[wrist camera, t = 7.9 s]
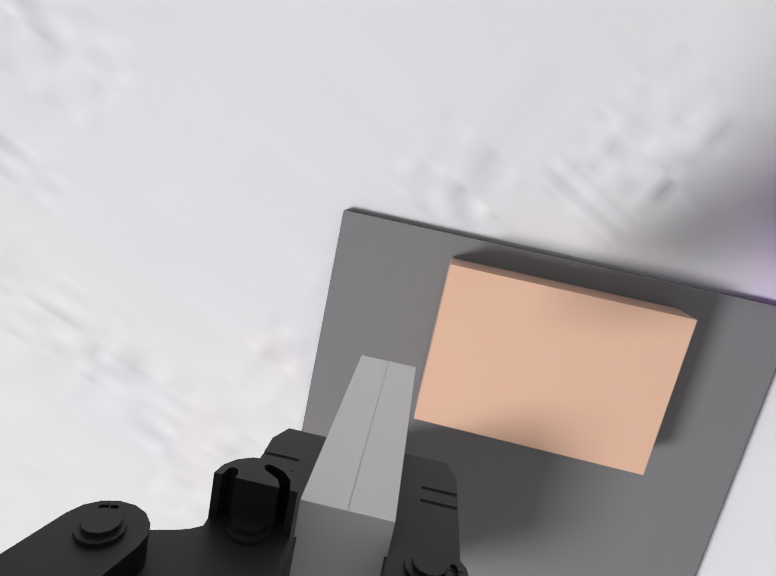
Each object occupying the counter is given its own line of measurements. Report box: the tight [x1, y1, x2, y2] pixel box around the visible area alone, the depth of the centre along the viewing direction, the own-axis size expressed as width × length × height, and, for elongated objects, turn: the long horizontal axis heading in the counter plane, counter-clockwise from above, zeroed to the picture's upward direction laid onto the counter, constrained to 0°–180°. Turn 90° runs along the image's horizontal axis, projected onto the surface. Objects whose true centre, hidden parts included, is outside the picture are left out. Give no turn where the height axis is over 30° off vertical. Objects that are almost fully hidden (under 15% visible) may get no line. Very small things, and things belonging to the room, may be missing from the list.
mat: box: [302, 210, 776, 576], centre depth 26 cm, size 18×20×1 cm
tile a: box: [414, 258, 697, 475], centre depth 24 cm, size 7×2×10 cm
